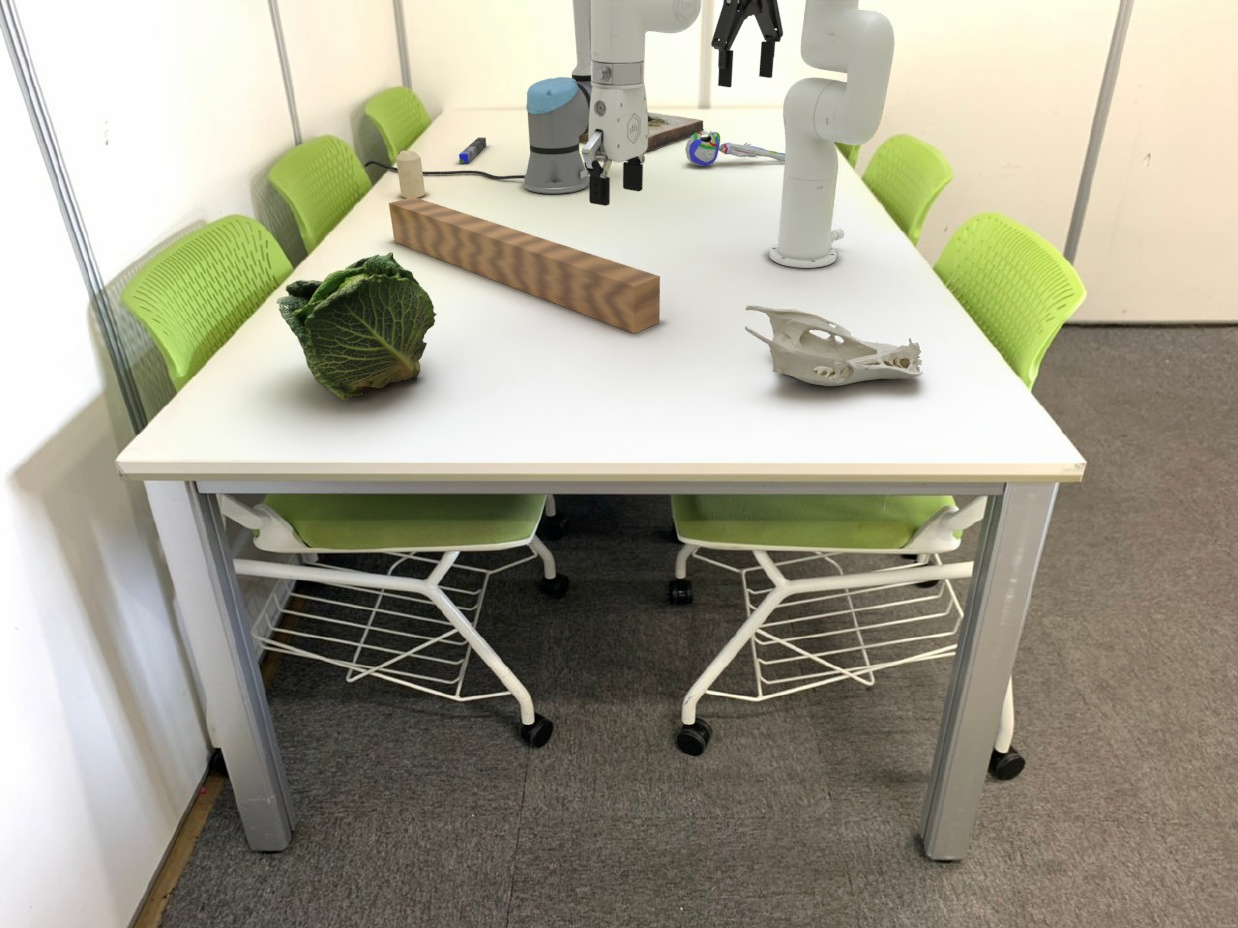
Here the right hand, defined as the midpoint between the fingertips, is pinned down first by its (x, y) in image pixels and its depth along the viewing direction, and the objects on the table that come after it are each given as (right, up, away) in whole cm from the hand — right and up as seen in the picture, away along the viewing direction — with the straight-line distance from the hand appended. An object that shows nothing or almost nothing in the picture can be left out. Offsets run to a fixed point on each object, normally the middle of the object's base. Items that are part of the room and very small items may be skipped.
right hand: (616, 196), depth 135 cm
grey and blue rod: (-39, +43, +107) cm, 122 cm away
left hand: (+26, +36, +44) cm, 62 cm away
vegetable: (-35, -29, -7) cm, 46 cm away
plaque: (+5, +54, +124) cm, 135 cm away
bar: (-19, -6, +28) cm, 35 cm away
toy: (+33, +37, +95) cm, 107 cm away
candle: (-48, +22, +75) cm, 91 cm away
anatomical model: (+31, -28, -7) cm, 42 cm away
